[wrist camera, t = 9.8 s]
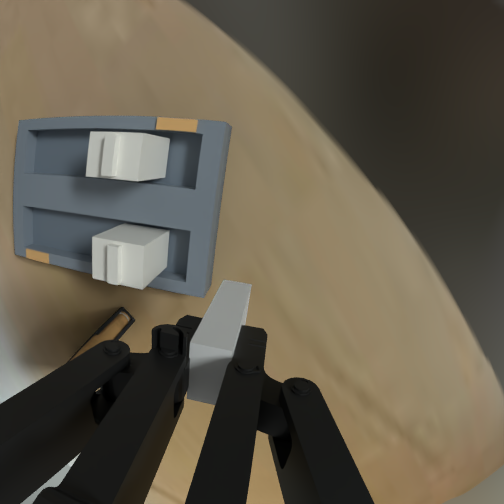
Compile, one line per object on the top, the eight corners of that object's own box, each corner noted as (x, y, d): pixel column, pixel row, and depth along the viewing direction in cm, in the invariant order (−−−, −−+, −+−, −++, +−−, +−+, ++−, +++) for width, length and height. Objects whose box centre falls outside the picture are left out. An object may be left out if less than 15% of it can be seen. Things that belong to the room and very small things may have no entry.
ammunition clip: (122, 305, 28) (51, 376, 17) (136, 319, 28) (70, 396, 17) (74, 355, 31) (14, 419, 19) (85, 367, 31) (29, 433, 19)
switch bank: (31, 247, 28) (13, 254, 25) (36, 121, 24) (17, 120, 21) (211, 285, 27) (203, 298, 24) (231, 126, 23) (225, 121, 20)
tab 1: (119, 173, 23) (80, 177, 18) (124, 136, 23) (85, 130, 17) (165, 177, 23) (133, 181, 18) (170, 138, 22) (139, 132, 17)
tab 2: (122, 258, 25) (88, 281, 20) (124, 223, 24) (87, 238, 19) (166, 266, 25) (139, 293, 20) (169, 230, 24) (140, 248, 19)
